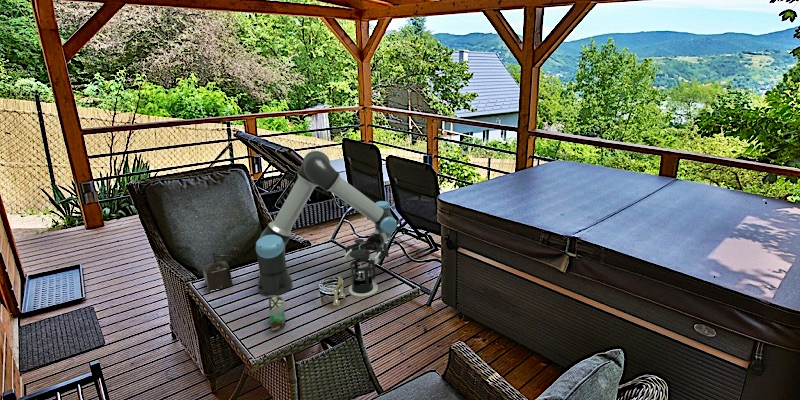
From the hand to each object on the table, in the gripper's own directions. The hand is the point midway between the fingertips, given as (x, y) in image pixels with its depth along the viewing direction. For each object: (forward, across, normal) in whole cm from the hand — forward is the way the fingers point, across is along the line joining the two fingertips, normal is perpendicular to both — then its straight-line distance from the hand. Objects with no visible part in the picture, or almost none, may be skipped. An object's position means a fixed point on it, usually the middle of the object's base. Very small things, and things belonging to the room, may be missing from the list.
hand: (360, 259), depth 192 cm
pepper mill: (+8, +65, -15) cm, 67 cm away
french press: (-2, 0, -15) cm, 15 cm away
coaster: (-2, 0, -15) cm, 15 cm away
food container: (+31, +22, -15) cm, 41 cm away
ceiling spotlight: (+7, +8, -15) cm, 18 cm away
